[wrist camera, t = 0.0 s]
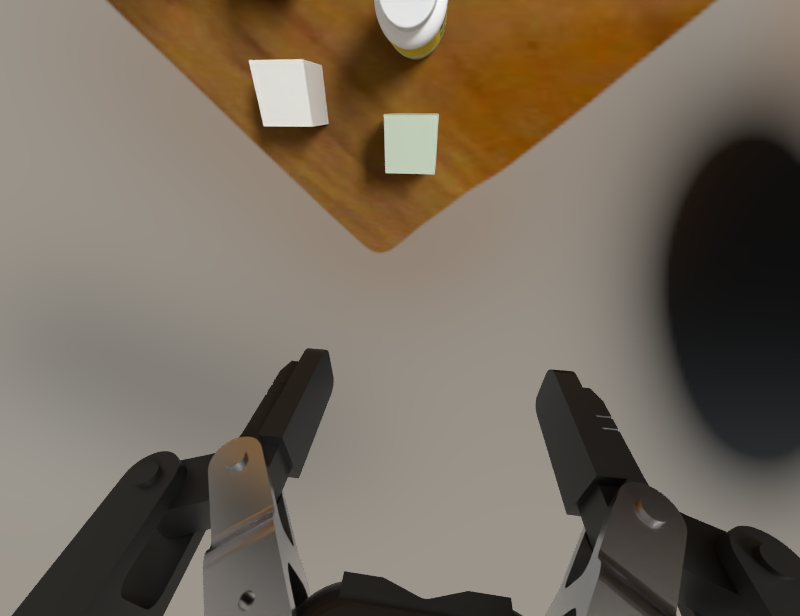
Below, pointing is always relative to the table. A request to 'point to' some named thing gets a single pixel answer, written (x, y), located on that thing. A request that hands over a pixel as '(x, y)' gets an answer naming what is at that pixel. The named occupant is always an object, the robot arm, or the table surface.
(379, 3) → the supplement bottle
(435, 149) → the sage block
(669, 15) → the table surface
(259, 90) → the pale grey block
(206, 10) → the table surface
